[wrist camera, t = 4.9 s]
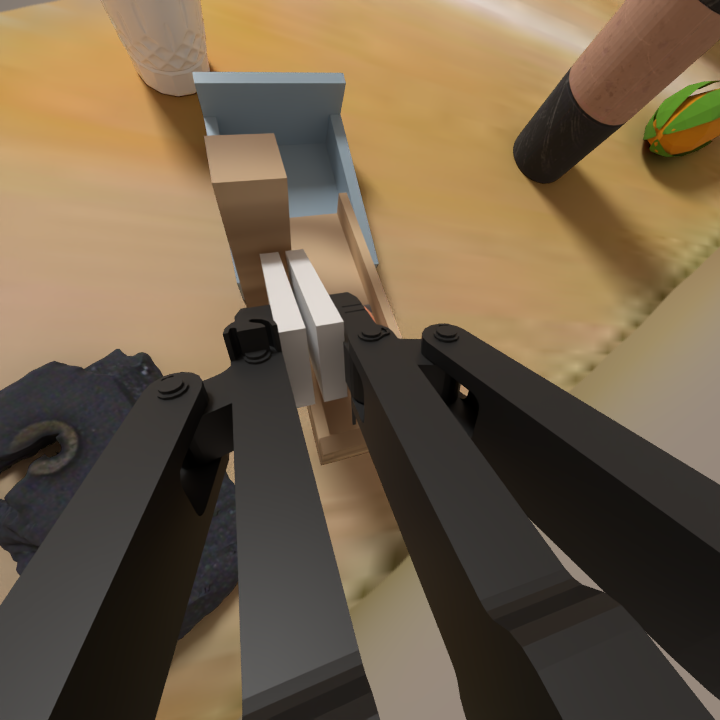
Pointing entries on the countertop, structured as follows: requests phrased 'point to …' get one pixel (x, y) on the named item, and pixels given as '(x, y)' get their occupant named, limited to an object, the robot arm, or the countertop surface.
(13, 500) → the dark slate chunk
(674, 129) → the corn
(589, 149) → the travel mug
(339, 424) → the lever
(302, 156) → the bin
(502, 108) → the countertop surface
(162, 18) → the white cup
